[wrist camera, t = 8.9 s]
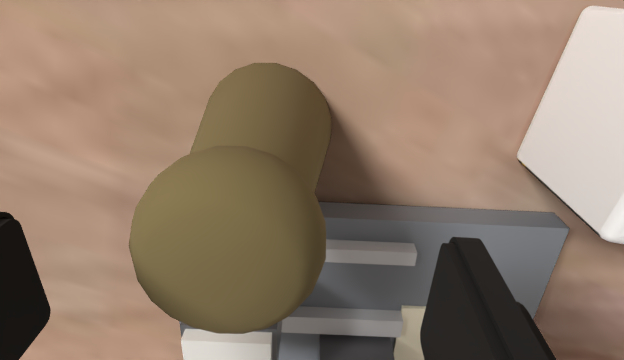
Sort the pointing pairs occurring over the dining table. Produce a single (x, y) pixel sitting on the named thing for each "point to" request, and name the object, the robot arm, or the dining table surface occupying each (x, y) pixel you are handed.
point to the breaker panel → (411, 269)
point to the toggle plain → (231, 344)
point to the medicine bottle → (584, 125)
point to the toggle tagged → (354, 347)
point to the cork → (239, 207)
